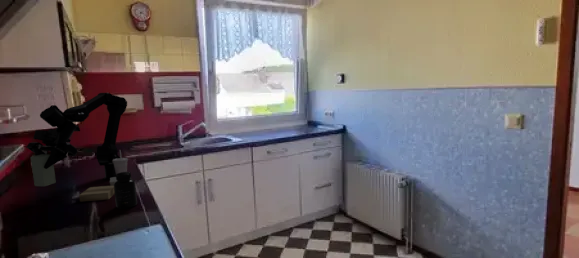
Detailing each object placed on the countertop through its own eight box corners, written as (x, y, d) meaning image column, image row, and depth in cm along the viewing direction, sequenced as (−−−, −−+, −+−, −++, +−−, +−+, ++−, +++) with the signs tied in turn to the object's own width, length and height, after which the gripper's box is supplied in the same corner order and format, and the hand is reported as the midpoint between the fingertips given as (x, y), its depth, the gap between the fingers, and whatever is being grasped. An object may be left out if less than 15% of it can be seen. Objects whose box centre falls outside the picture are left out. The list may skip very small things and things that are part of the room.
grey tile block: (111, 186, 143) (110, 177, 143) (131, 183, 147) (130, 174, 147) (110, 191, 136) (109, 182, 136) (132, 188, 140) (131, 179, 140)
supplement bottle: (117, 204, 120) (114, 172, 119) (137, 201, 123) (134, 170, 121) (114, 210, 114) (111, 177, 112) (136, 207, 116) (133, 174, 115)
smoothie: (132, 178, 155) (130, 148, 153) (122, 182, 149) (119, 151, 147) (121, 177, 157) (118, 148, 155) (111, 181, 151) (107, 151, 149)
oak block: (90, 194, 134) (90, 187, 134) (117, 192, 136) (116, 185, 136) (80, 202, 124) (79, 195, 124) (108, 200, 126) (108, 192, 126)
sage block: (46, 182, 127) (42, 154, 126) (55, 182, 126) (52, 154, 125) (34, 185, 123) (30, 157, 121) (44, 186, 122) (40, 157, 120)
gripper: (27, 121, 127) (1, 156, 118) (67, 121, 123) (42, 157, 114) (49, 138, 136) (26, 171, 127) (86, 138, 132) (65, 173, 123)
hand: (39, 168), depth 122 cm, fingers closed on sage block, 5 cm apart
